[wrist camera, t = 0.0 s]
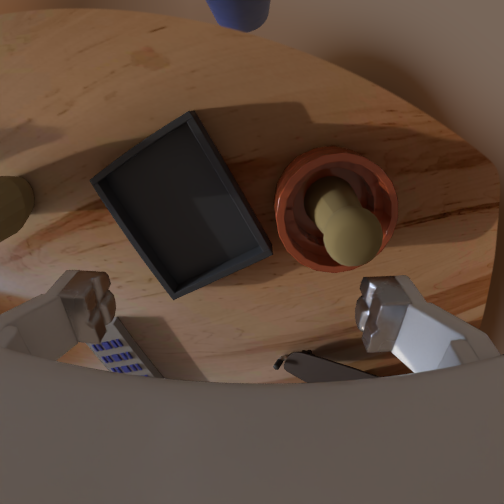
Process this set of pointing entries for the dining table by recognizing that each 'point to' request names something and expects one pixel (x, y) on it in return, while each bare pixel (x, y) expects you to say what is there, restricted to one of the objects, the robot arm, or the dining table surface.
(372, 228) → the olive green bottle
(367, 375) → the laptop tray
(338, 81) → the dining table surface
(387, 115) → the dining table surface
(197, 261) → the tray
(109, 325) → the remote control
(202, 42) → the dining table surface
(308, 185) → the bowl
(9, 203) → the squeeze bottle
